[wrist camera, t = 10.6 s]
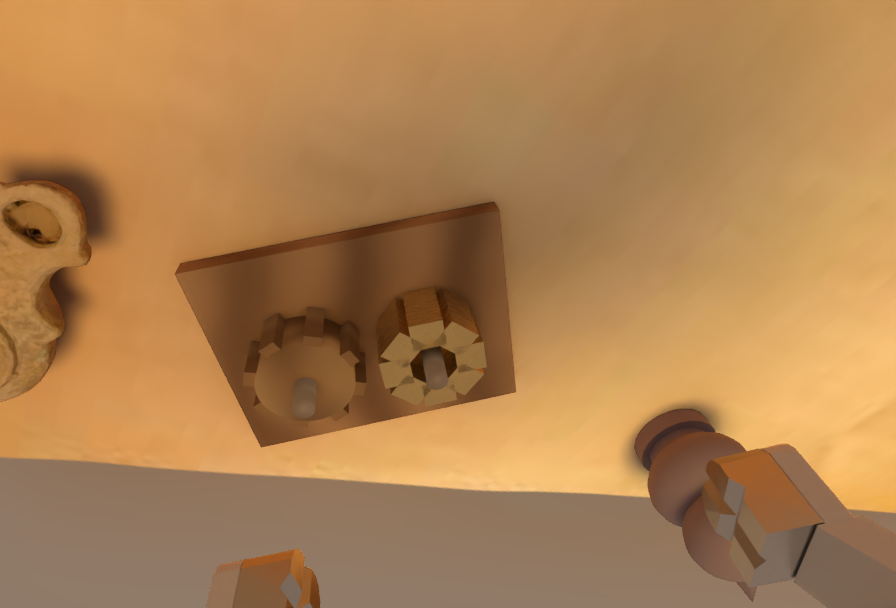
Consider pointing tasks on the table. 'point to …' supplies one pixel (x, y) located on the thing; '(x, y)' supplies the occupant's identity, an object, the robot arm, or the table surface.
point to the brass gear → (429, 344)
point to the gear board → (346, 318)
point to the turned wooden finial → (688, 484)
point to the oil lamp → (34, 276)
